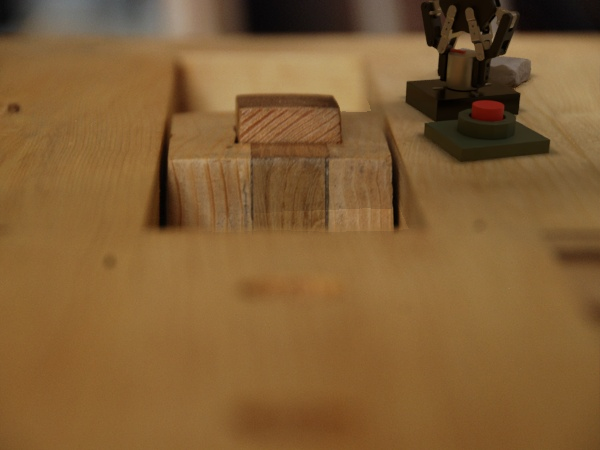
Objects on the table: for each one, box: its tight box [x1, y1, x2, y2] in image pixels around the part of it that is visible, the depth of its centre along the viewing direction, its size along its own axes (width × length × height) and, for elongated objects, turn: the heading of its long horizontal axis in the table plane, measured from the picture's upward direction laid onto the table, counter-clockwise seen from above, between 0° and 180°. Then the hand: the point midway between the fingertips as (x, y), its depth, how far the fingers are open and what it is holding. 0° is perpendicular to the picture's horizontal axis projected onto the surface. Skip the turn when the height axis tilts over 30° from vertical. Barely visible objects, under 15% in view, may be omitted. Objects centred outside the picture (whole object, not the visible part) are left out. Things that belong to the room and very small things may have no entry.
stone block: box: [458, 47, 532, 89], centre depth 126 cm, size 12×5×10 cm
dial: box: [446, 48, 477, 91], centre depth 109 cm, size 4×4×5 cm
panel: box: [405, 78, 521, 122], centre depth 111 cm, size 12×10×3 cm
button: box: [471, 100, 504, 122], centre depth 94 cm, size 4×4×2 cm
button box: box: [423, 109, 551, 163], centre depth 95 cm, size 11×10×4 cm
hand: (462, 83), depth 110 cm, fingers closed on dial, 4 cm apart
